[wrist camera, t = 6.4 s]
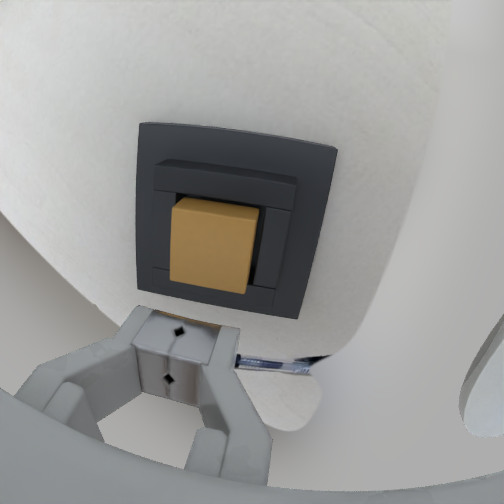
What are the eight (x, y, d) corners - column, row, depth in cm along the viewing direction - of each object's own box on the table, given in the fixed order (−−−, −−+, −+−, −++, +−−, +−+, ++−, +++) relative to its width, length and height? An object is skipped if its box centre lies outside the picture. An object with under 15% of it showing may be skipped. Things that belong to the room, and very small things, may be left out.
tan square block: (259, 208, 14) (256, 220, 13) (249, 276, 16) (244, 295, 14) (183, 196, 15) (171, 207, 13) (180, 263, 16) (169, 280, 15)
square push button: (334, 146, 15) (344, 154, 13) (297, 308, 20) (298, 339, 17) (148, 121, 16) (122, 125, 13) (144, 280, 20) (125, 305, 17)
